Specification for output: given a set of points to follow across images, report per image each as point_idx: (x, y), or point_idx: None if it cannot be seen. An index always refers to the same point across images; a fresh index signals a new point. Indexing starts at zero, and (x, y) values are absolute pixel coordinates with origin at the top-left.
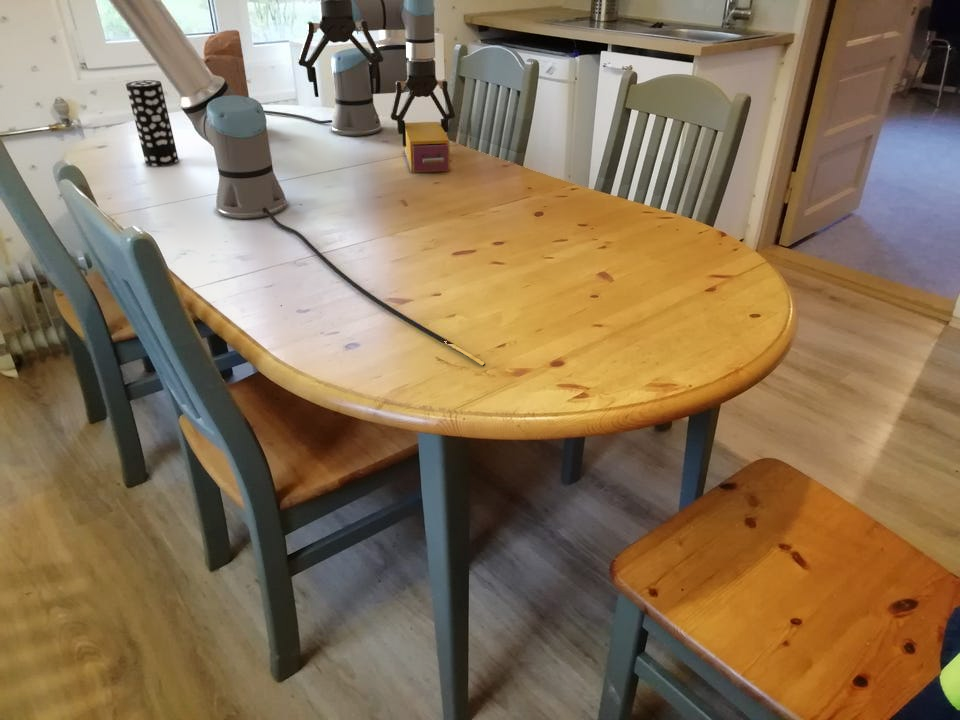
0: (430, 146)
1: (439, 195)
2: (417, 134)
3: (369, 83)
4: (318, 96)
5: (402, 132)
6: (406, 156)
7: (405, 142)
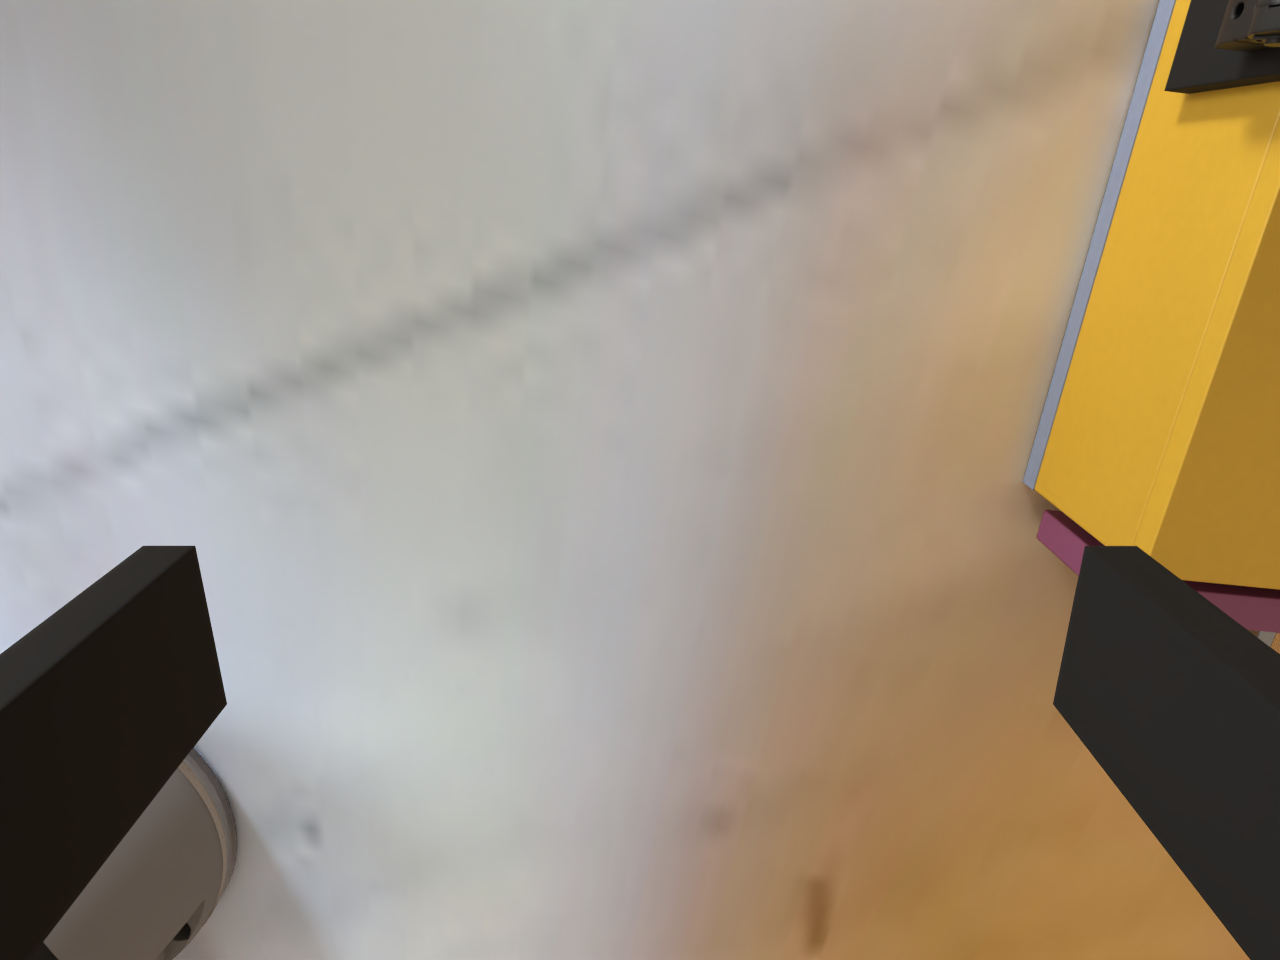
0: (1258, 630)
1: (1020, 862)
2: None
3: (1151, 716)
4: (220, 707)
5: (1258, 50)
6: (1136, 103)
7: (1209, 88)
